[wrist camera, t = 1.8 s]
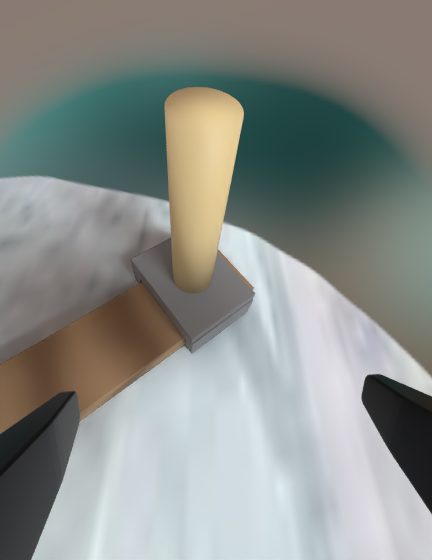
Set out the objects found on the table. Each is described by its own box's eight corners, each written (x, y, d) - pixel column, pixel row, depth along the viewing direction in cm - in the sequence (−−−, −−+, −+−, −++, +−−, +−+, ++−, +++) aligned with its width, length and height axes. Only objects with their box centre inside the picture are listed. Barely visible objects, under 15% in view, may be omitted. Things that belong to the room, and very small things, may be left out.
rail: (4, 476, 18) (-15, 480, 16) (-29, 396, 20) (-49, 392, 18) (249, 297, 26) (253, 287, 24) (209, 254, 28) (211, 242, 26)
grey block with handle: (191, 353, 22) (209, 208, 8) (136, 280, 25) (78, 75, 11) (246, 312, 24) (335, 142, 10) (191, 249, 27) (201, 46, 13)
